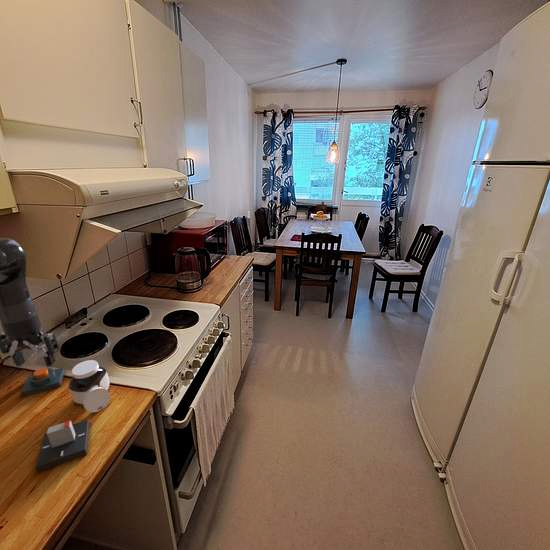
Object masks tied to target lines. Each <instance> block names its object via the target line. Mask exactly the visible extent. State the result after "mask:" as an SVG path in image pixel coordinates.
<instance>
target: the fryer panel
mask: <svg viewBox="0 0 550 550" xmlns="http://www.w3.org/2000/svg"><path fill="white" fill-rule="evenodd" d="M72 426H73V428H74V431H75V440H74V441H71V442H68V443H65V444H62V445H59V446H56V447H53V448H52V446H51V443H50V441H49V438H48V436H47V432H44V434H43V438H42V442H41V446H40V449H39V454H38V458H37V461H36V465H35V469H36V470H37V472H38V473H42V472H43V471H47V470H49V469H51V468H54V467H58V466H60V465H63V464H65V463H69V462H71V461H74V460H77V459H79V458H82V457H85V456H86V455H88V448H89V437H90V428H91V427H90V426H91V424H90V421H89V419H85V420H82V421H79V422H76V423H72Z"/></svg>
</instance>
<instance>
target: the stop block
mask: <svg viewBox="0 0 550 550" xmlns="http://www.w3.org/2000/svg"><path fill="white" fill-rule="evenodd" d="M46 368H47V370H48V373H49V374H48V375H47V376H46V377H44V378H42V379H38V380H37V379H35V377H34V372H33V373H32V374H30V375H28V376H27V377H26V379H25V381H24V383H23V386H22V389H21V391H20V393H21V396H22V397H27V396H30V395H34V394H38V393H41V392H45V391H50V390H53V389H57V388H59V387H62V384H63V380H64V375H65V369H64V367H59V368H56V369H55V368H54V369H53V368H52V367H46Z"/></svg>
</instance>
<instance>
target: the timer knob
mask: <svg viewBox="0 0 550 550" xmlns="http://www.w3.org/2000/svg"><path fill="white" fill-rule="evenodd" d="M72 424H73V423H72V420H66V421H65V422H63V423H58V424H55V425H53V426H50V427H47V430H46V431H47V432H46V433H47V436H48V438H49V441H50V443H51V446H52V448H53V447H56V446H59V445H62V444H65V443H68V442H71V441H74V440H75V431H74V428H73V426H72Z"/></svg>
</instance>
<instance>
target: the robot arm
mask: <svg viewBox="0 0 550 550" xmlns="http://www.w3.org/2000/svg"><path fill="white" fill-rule="evenodd" d="M26 281H27V256H26V251H25V250H24V248H23V246H22V245H21V244H20V243H19V242H18V241H16V240H15V239H12V238H9V237H2V238H0V326H1V329H2V330H3V331H2V332H0V352H1V354H3V355H6V354H8V356H10V357H11V358H12V361H13V363H14V365H15V366H16V367H21V366H22V365H23V364H25V363H26V359H25V356H24V354H23V351H22V350H27V349H28V350H33V351H34V352H35V353H38V354H40V355H41V356H43V360H44V363H45V366H46V368H52V366H53V365H54V364H55V363H56V361H57V360H56V358H55V354H56V353H57V352H58V351H59V350H60V346H59V343H58V340H57V337H56V334H55V333H54V331H49V332H48V333H43V332H42V331H41V325H42V322H41V320H40V317H39V314H38V311H37V308H36V305H35V302H34V300H33V298H32V296H31V294H30V291H29V288H28V285H27V282H26ZM40 344H41V346H39V345H40Z"/></svg>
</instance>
